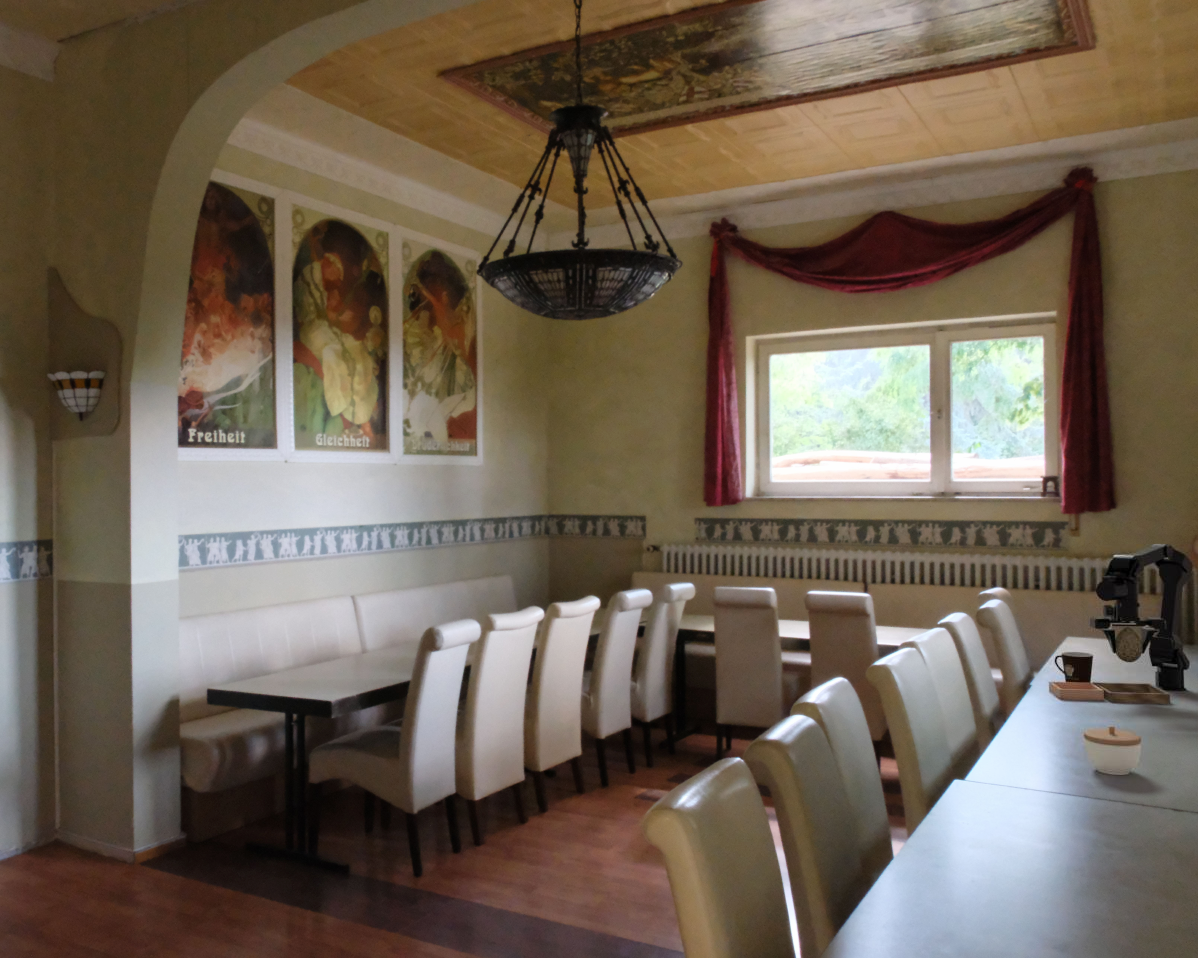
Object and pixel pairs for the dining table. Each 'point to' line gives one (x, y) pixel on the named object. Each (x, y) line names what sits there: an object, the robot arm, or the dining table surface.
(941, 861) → the dining table surface
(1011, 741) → the dining table surface
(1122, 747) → the lidded jar
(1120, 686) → the tray
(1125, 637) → the decorative egg
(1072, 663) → the coffee mug
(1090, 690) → the terracotta dish
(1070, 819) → the dining table surface
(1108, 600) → the robot arm
